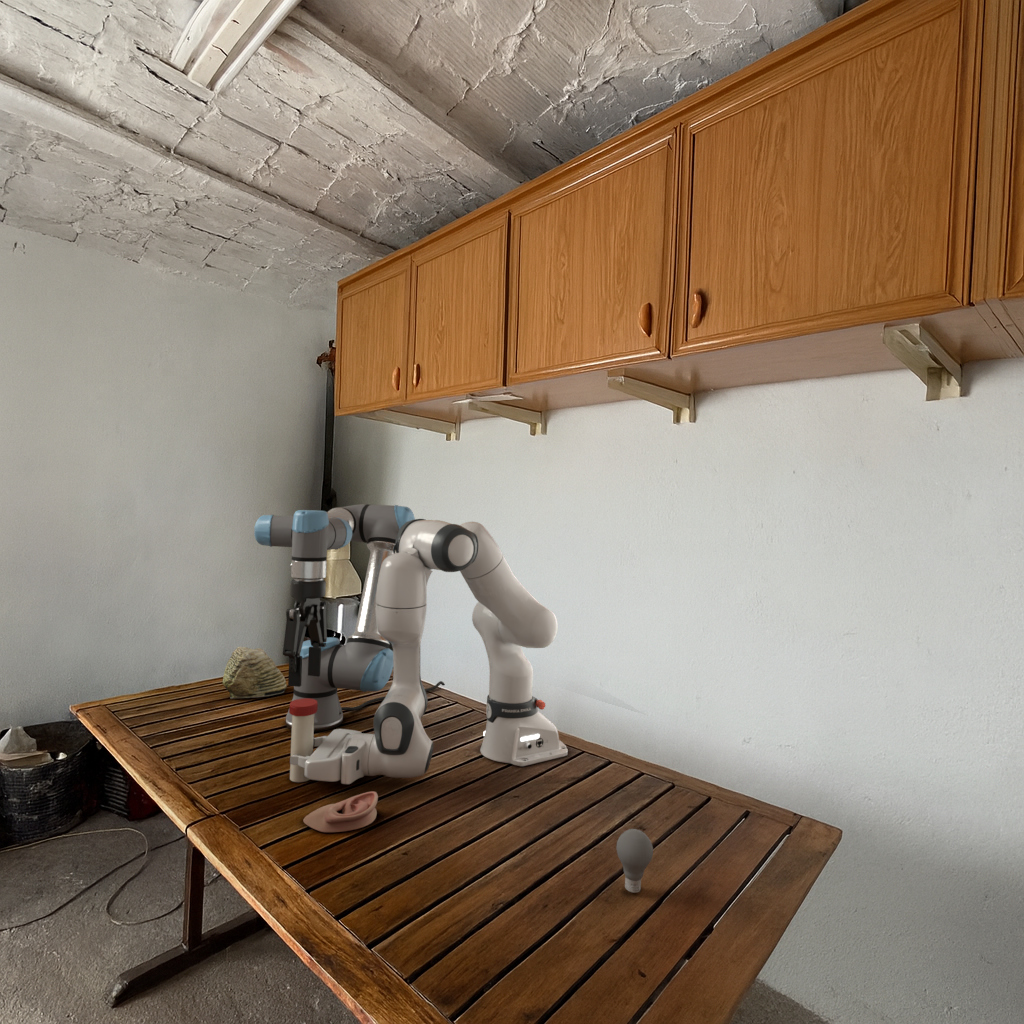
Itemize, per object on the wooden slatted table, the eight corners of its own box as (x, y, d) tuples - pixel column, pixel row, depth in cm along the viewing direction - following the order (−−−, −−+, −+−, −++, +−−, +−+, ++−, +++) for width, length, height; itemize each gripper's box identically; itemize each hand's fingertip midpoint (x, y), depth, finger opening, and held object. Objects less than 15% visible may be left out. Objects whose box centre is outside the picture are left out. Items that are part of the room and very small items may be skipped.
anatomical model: (295, 807, 120) (325, 781, 132) (294, 828, 121) (324, 800, 132) (360, 817, 118) (384, 790, 129) (359, 838, 118) (384, 809, 129)
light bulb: (610, 879, 108) (613, 822, 108) (644, 879, 109) (647, 822, 109) (619, 902, 102) (622, 840, 102) (655, 901, 103) (658, 840, 103)
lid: (291, 717, 138) (291, 708, 138) (287, 709, 143) (287, 699, 143) (319, 714, 141) (319, 705, 141) (314, 706, 146) (315, 697, 146)
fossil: (218, 695, 195) (220, 647, 195) (278, 685, 208) (279, 640, 207) (228, 703, 189) (230, 653, 188) (289, 692, 201) (290, 645, 201)
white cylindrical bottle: (291, 783, 139) (294, 708, 139) (288, 774, 143) (291, 702, 143) (313, 780, 141) (316, 706, 141) (310, 771, 146) (312, 700, 145)
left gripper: (315, 573, 152) (312, 667, 153) (266, 583, 132) (262, 692, 133) (344, 575, 151) (341, 670, 151) (299, 586, 131) (295, 695, 131)
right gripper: (372, 723, 152) (315, 720, 153) (347, 758, 132) (281, 754, 132) (371, 749, 152) (314, 746, 153) (346, 788, 132) (280, 784, 132)
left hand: (304, 680), depth 142 cm, fingers open, 8 cm apart
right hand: (299, 750), depth 142 cm, fingers open, 8 cm apart
